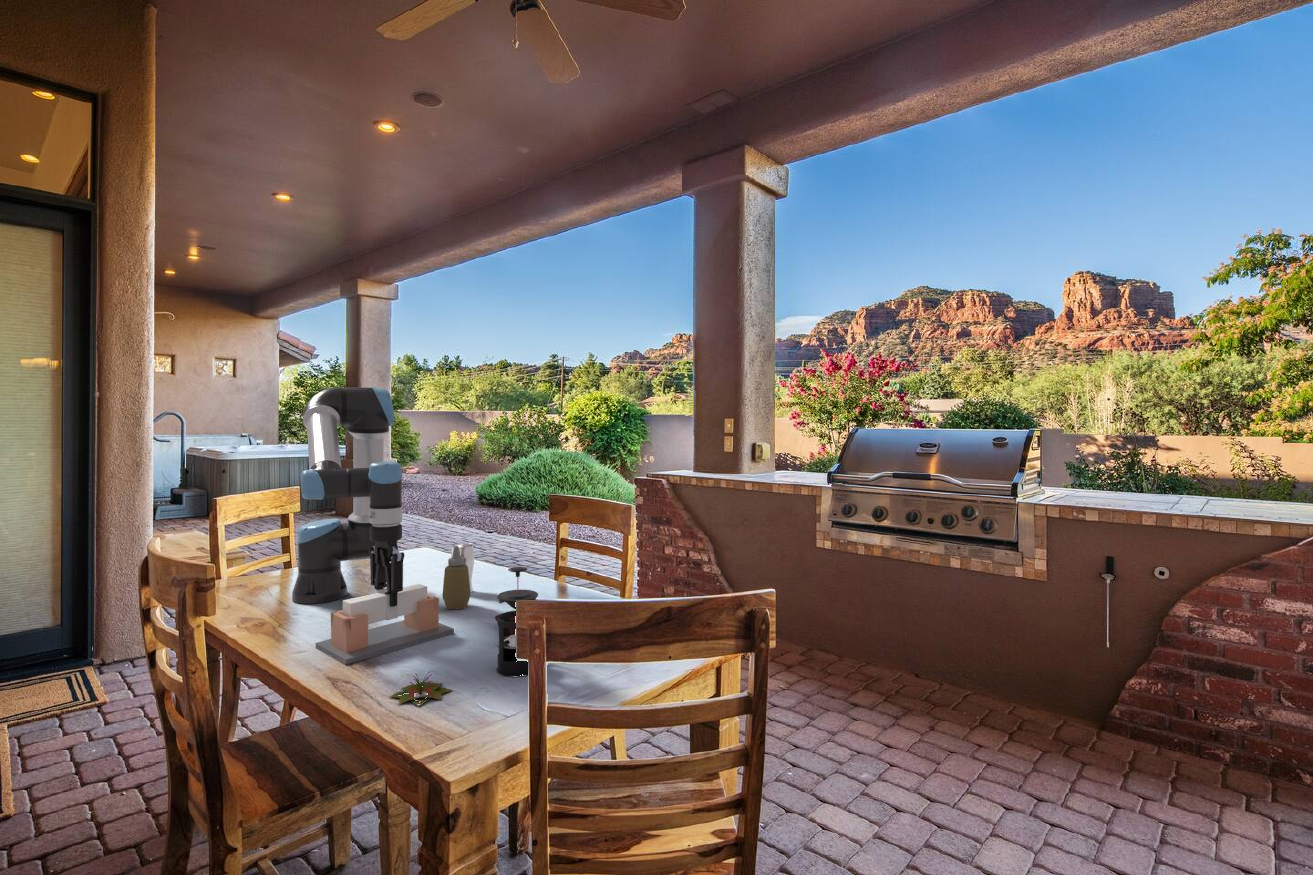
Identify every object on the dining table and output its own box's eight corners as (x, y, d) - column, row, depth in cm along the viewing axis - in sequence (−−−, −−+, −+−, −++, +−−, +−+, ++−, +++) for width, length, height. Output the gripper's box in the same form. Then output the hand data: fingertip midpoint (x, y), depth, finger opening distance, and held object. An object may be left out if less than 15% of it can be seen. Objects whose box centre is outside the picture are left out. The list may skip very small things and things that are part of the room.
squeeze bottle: (462, 612, 188) (462, 550, 187) (436, 610, 189) (436, 548, 189) (475, 604, 196) (475, 544, 195) (451, 602, 197) (450, 542, 196)
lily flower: (376, 701, 132) (376, 678, 132) (424, 679, 142) (423, 658, 142) (417, 715, 126) (417, 692, 126) (464, 691, 136) (464, 670, 136)
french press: (509, 681, 141) (509, 575, 140) (485, 669, 147) (485, 568, 146) (553, 666, 149) (553, 566, 148) (528, 655, 156) (528, 559, 155)
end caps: (315, 647, 159) (314, 611, 159) (421, 619, 181) (421, 587, 180) (345, 664, 149) (345, 625, 149) (454, 633, 170) (453, 599, 170)
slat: (342, 624, 158) (342, 600, 158) (419, 606, 173) (419, 583, 173) (350, 628, 156) (350, 603, 155) (427, 609, 171) (427, 586, 171)
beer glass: (478, 590, 210) (478, 544, 209) (465, 596, 203) (465, 548, 203) (460, 588, 212) (460, 542, 212) (446, 594, 206) (446, 546, 205)
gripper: (354, 522, 166) (355, 613, 167) (388, 530, 155) (389, 627, 156) (383, 518, 172) (384, 606, 173) (417, 526, 161) (418, 620, 162)
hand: (386, 616), depth 164 cm, fingers closed on slat, 4 cm apart
